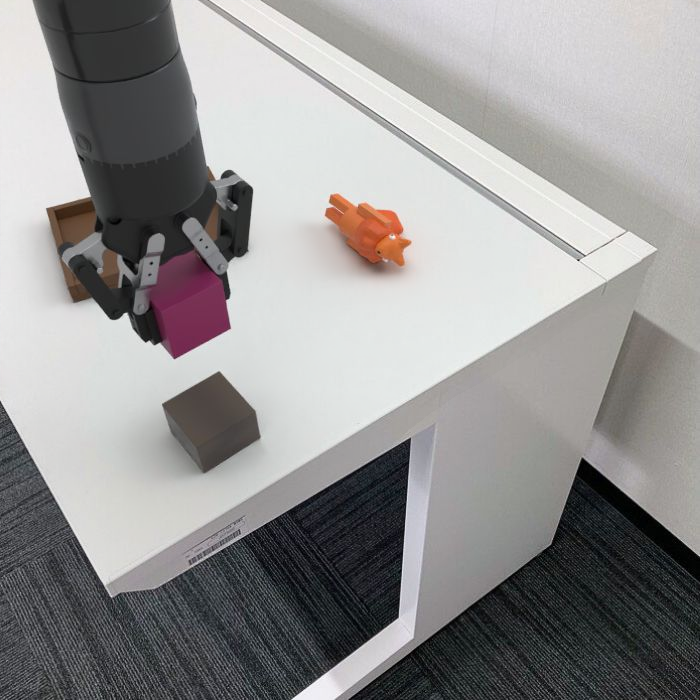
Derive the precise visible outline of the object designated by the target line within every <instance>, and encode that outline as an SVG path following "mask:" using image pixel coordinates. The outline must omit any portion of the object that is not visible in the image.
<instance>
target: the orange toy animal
mask: <svg viewBox="0 0 700 700" xmlns="http://www.w3.org/2000/svg"><path fill="white" fill-rule="evenodd" d="M328 203H329V204H330V205H331V207H326V209H325V213H324V217H326V219H328V220H330V222H332V223H333V224H335V225H336V226H337V227H338V229H339V232H340V233H341V234H342V235H344V236H345V237H346V238H348V239H347V242H346V244H347V245H348V246H349V247H351V248H352V249H353V250H354V251H356V252H357V253H358V255H360V256H362V257H363V258H364V259H366V260H368V261H369V262H370V263H371V264H375V263H380V261H381V260H382V261H383V263H388V262H389V261H393V262H394V263H395V264H396V265H397V266H399V267H404V266H405V264H406V260H405V257H404V251H405V249H406V248H408V247H409V246H410V245H412V240H411V239H407V238H403V237H402V236H400V235H402V234H403V233H404V227H403V224H402V223H401V221H400V218H399V217H398V215H397V213H396V212H395V211H393V210H391V209H381V208H379V209H375V207H373V206H371V205H370V204H368V203H367V202H363V203H362V202H361V203H358V206H356V205H354V204H353V203H352V202H350V201H349V200H348V199H346V198H345V197H344V196H342V195H341V194H339V193H331V194H330V195H329V200H328Z"/></svg>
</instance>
